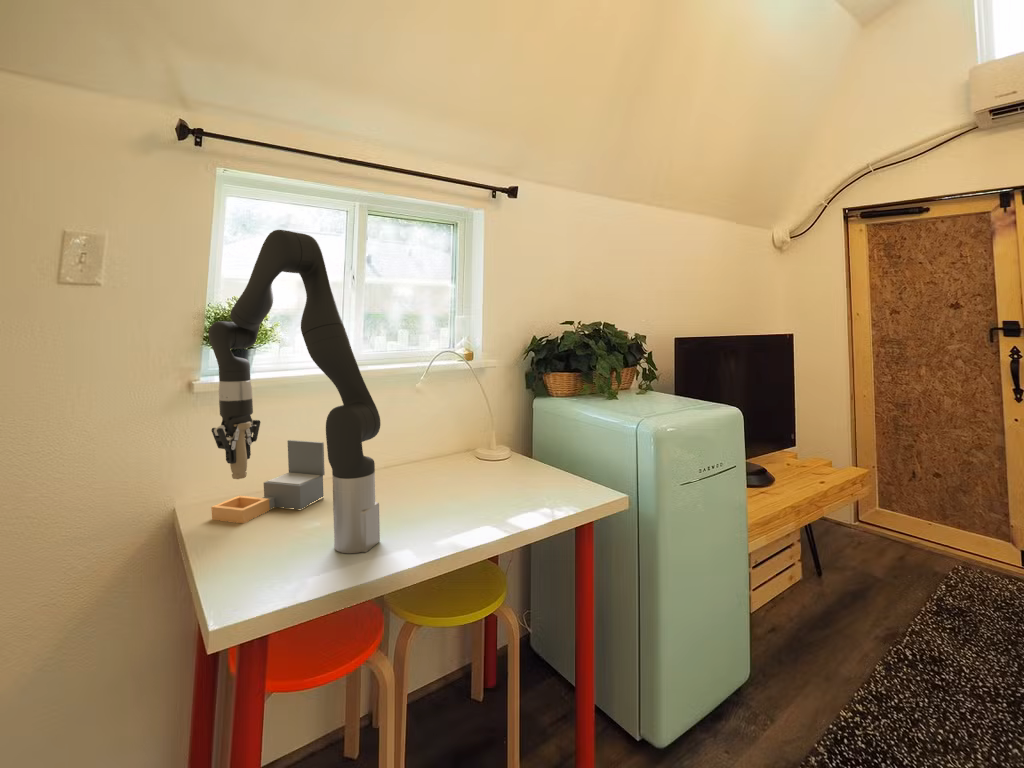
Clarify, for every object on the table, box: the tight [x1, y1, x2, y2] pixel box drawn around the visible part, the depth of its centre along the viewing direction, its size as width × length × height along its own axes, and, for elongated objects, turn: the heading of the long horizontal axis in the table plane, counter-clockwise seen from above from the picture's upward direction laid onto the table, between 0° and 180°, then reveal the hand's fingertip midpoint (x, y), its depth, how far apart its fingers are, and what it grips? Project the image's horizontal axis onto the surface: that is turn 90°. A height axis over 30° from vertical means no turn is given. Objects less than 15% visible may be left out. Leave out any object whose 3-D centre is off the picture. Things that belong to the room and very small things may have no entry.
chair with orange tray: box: [210, 439, 325, 524], centre depth 126 cm, size 18×22×17 cm
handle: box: [229, 422, 251, 480], centre depth 120 cm, size 5×6×15 cm
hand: (238, 460), depth 120 cm, fingers closed on handle, 4 cm apart
